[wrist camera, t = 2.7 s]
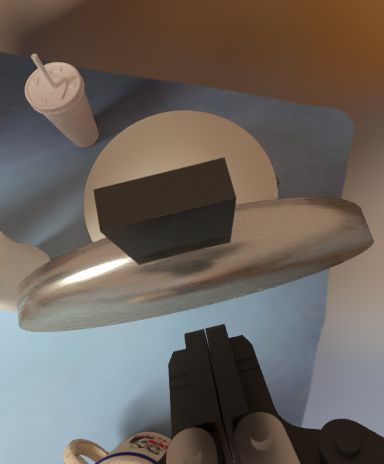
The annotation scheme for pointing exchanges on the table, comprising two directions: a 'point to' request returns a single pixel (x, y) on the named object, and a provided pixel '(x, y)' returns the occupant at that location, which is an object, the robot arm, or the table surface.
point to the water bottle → (16, 268)
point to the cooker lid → (186, 250)
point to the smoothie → (62, 101)
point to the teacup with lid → (120, 450)
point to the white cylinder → (181, 156)
